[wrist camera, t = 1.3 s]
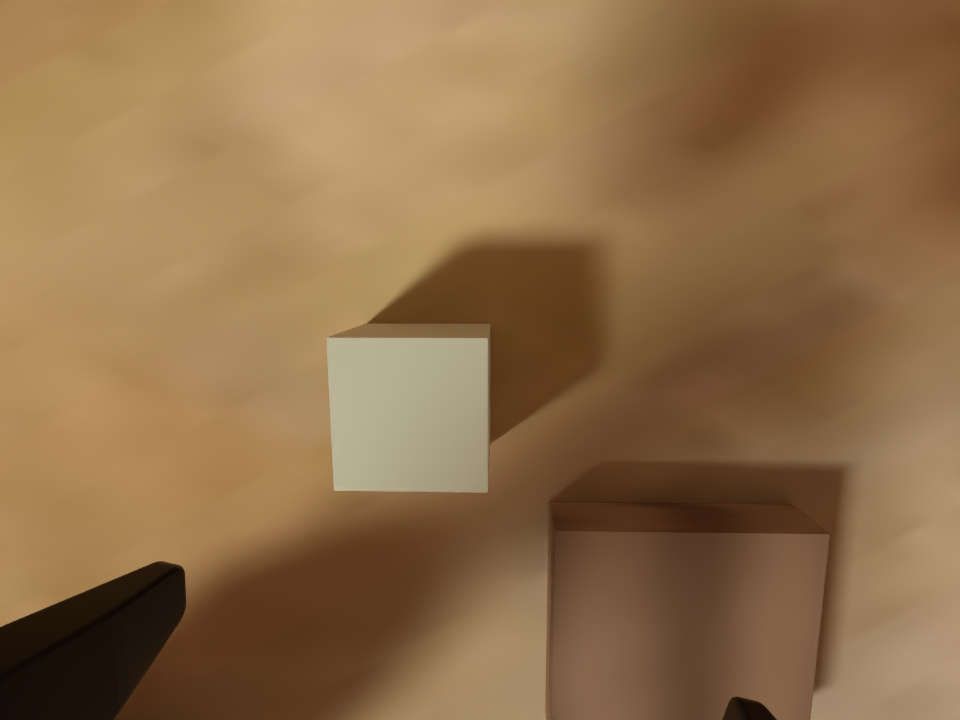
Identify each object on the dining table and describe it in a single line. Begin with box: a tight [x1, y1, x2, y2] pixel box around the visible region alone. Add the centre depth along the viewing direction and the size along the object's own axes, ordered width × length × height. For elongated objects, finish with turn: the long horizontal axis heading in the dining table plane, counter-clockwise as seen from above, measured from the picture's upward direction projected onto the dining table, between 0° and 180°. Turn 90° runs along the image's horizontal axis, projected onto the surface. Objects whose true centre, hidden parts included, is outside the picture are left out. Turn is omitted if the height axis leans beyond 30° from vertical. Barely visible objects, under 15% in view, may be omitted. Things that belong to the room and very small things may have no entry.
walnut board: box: [545, 502, 830, 720], centre depth 21 cm, size 10×10×3 cm
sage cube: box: [327, 323, 490, 493], centre depth 19 cm, size 5×5×5 cm
